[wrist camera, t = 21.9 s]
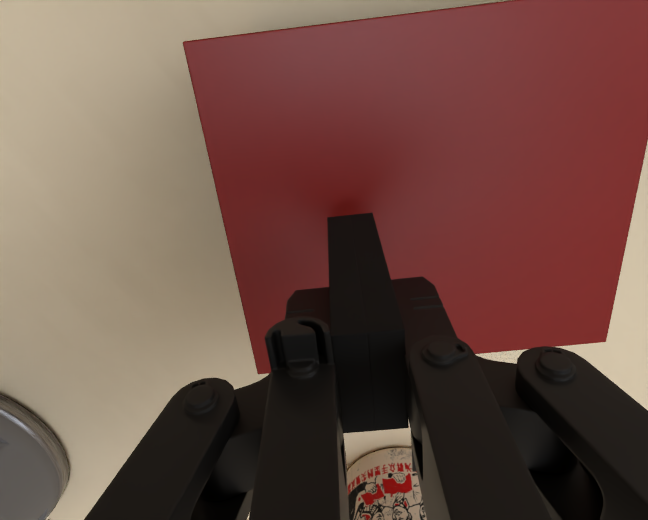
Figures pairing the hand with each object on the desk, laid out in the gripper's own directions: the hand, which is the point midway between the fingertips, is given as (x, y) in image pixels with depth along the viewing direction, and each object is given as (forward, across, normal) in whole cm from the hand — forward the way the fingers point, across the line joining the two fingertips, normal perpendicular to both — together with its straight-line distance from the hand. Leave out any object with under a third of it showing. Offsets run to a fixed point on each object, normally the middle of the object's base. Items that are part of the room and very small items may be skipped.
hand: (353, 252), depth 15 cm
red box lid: (+3, +3, 0) cm, 4 cm away
